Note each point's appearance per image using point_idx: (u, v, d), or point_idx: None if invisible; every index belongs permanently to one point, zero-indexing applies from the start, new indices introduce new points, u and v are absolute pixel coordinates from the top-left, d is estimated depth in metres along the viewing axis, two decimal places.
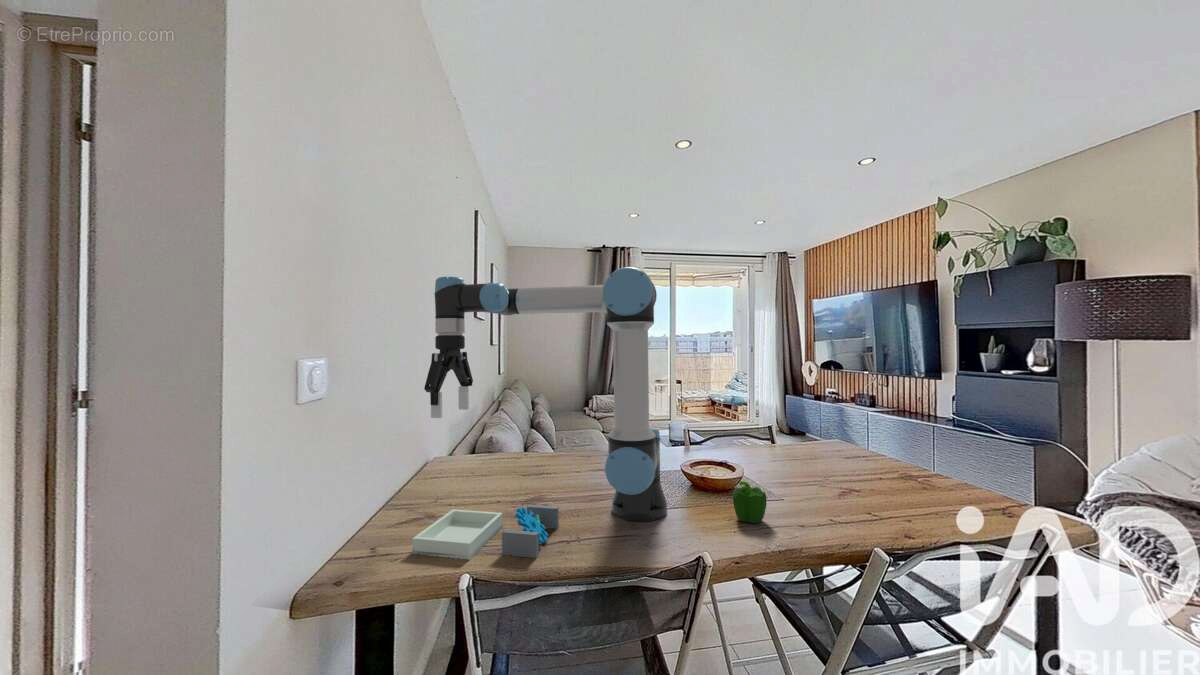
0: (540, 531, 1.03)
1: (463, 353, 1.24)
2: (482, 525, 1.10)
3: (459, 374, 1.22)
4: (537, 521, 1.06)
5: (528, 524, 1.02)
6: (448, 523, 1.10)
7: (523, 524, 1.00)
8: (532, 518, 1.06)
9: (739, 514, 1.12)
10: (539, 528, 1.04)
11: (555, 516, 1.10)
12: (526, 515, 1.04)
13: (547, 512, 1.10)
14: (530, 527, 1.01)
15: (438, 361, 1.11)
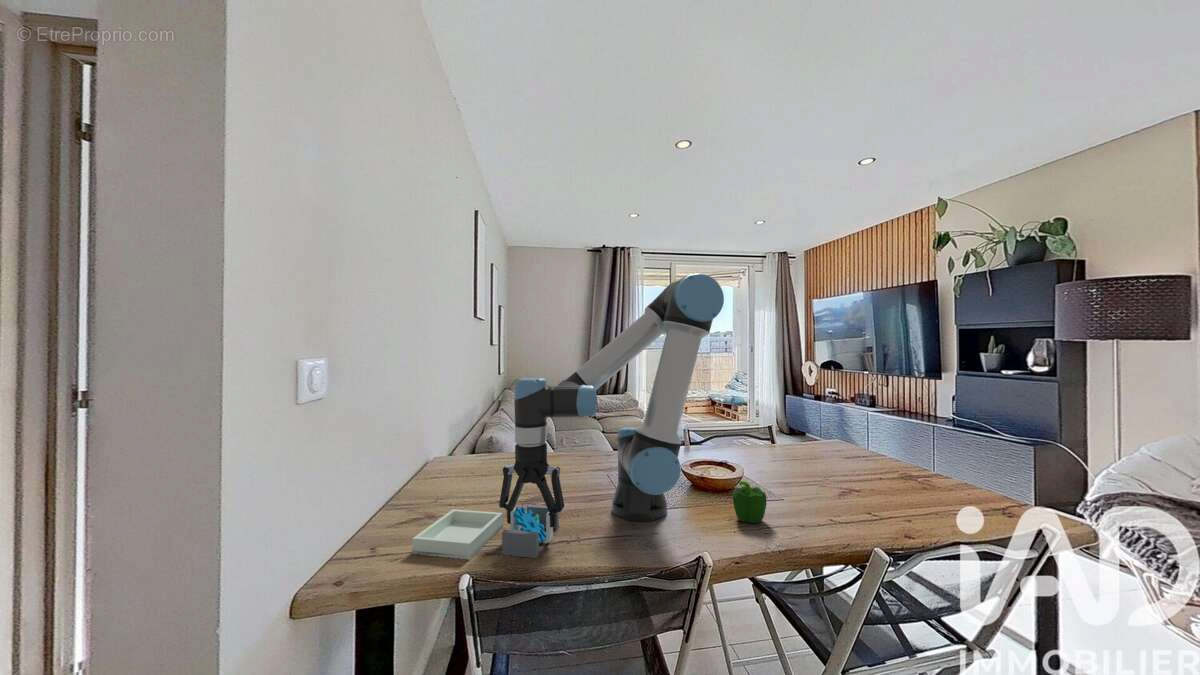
0: (538, 531, 1.03)
1: (553, 470, 1.02)
2: (482, 525, 1.10)
3: None
4: (536, 521, 1.06)
5: (526, 523, 1.02)
6: (448, 523, 1.10)
7: (521, 523, 1.01)
8: (531, 518, 1.06)
9: (739, 514, 1.12)
10: (538, 528, 1.04)
11: None
12: (525, 514, 1.05)
13: (547, 512, 1.10)
14: (528, 527, 1.01)
15: None
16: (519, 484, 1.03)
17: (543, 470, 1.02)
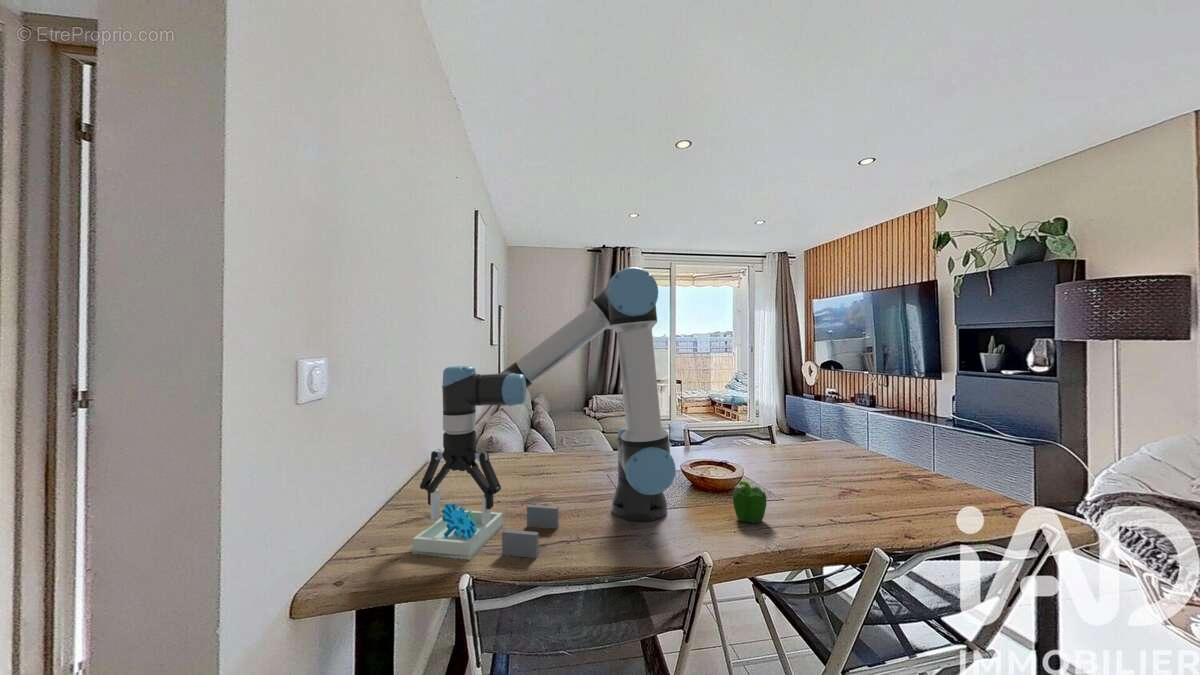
0: (467, 527, 1.04)
1: None
2: (482, 525, 1.10)
3: None
4: (467, 517, 1.07)
5: (454, 520, 1.02)
6: None
7: (448, 520, 1.01)
8: (462, 514, 1.06)
9: (739, 514, 1.12)
10: (467, 524, 1.05)
11: (555, 516, 1.10)
12: (455, 511, 1.05)
13: (547, 512, 1.10)
14: (455, 523, 1.02)
15: None
16: (444, 470, 1.04)
17: (470, 457, 1.03)
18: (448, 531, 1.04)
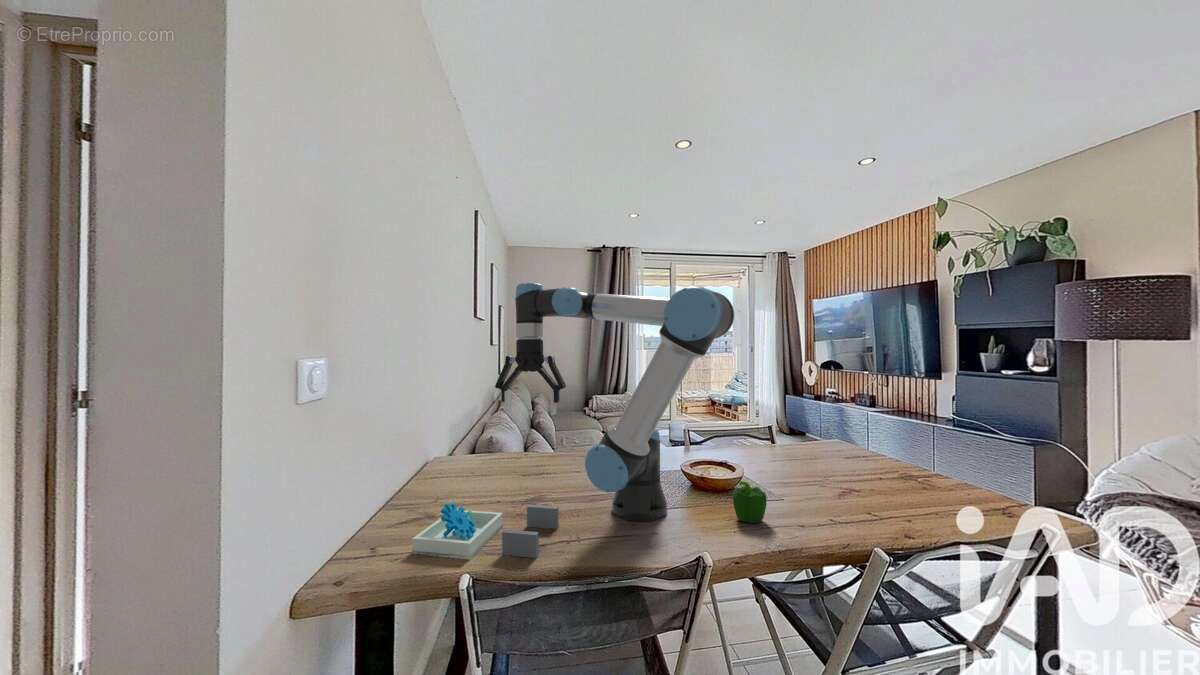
0: (466, 527, 1.04)
1: None
2: (482, 525, 1.10)
3: None
4: (467, 517, 1.07)
5: (453, 520, 1.02)
6: None
7: (447, 519, 1.01)
8: (461, 514, 1.06)
9: (739, 514, 1.12)
10: (466, 524, 1.05)
11: (555, 516, 1.10)
12: (454, 511, 1.05)
13: (547, 512, 1.10)
14: (454, 523, 1.02)
15: None
16: (517, 371, 1.22)
17: (540, 359, 1.22)
18: (447, 531, 1.04)
